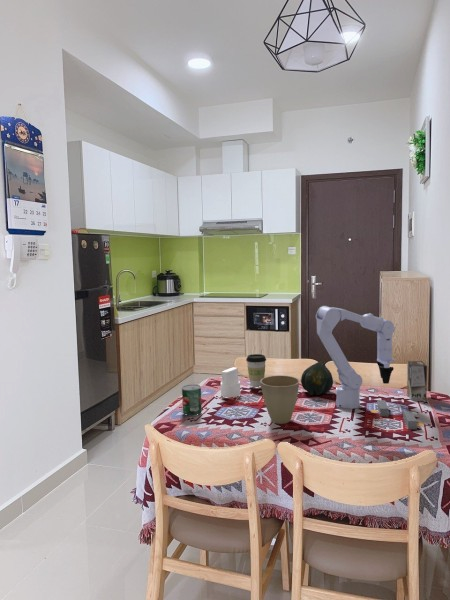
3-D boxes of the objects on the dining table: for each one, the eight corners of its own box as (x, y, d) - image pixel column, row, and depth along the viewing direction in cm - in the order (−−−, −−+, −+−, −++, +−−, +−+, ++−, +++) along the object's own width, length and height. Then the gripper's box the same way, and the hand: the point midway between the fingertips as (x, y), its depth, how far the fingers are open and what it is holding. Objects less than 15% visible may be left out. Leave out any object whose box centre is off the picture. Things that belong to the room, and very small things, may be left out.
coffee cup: (245, 389, 220) (244, 358, 219) (248, 383, 230) (247, 353, 229) (266, 389, 219) (265, 358, 217) (267, 383, 228) (266, 353, 227)
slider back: (380, 416, 176) (380, 408, 175) (377, 407, 185) (377, 400, 185) (388, 416, 175) (388, 408, 175) (385, 407, 185) (385, 400, 184)
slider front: (407, 429, 162) (407, 420, 162) (403, 418, 172) (403, 411, 172) (416, 429, 162) (416, 421, 161) (411, 419, 171) (411, 411, 171)
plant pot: (254, 417, 182) (253, 378, 181) (287, 411, 188) (286, 373, 186) (273, 430, 169) (272, 388, 167) (307, 423, 174) (306, 382, 173)
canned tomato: (178, 413, 190) (177, 387, 189) (192, 408, 196) (191, 383, 195) (192, 417, 185) (190, 391, 184) (205, 412, 190) (204, 386, 189)
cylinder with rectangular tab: (228, 391, 218) (227, 366, 217) (244, 393, 213) (243, 368, 212) (217, 396, 211) (216, 370, 210) (233, 399, 206) (232, 373, 205)
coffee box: (427, 403, 191) (427, 366, 189) (410, 403, 192) (410, 365, 191) (422, 396, 200) (422, 360, 198) (406, 396, 201) (406, 360, 200)
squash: (292, 384, 207) (313, 360, 203) (298, 376, 221) (319, 354, 217) (315, 406, 204) (338, 383, 200) (321, 397, 218) (342, 375, 214)
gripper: (397, 352, 181) (397, 386, 183) (392, 344, 195) (392, 376, 197) (378, 352, 183) (378, 385, 184) (375, 344, 197) (375, 375, 198)
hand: (384, 380), depth 190 cm, fingers open, 7 cm apart
